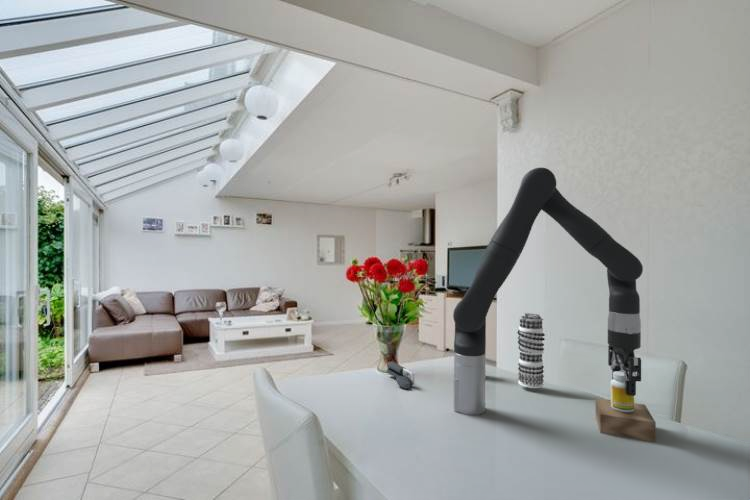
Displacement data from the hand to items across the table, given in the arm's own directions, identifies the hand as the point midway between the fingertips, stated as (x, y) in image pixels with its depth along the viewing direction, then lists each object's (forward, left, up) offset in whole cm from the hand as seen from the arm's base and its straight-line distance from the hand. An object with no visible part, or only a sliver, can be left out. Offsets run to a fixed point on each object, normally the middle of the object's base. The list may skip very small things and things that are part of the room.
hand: (623, 389), depth 106 cm
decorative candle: (-17, +33, -11) cm, 39 cm away
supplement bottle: (0, 0, -5) cm, 5 cm away
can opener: (-64, +30, -11) cm, 72 cm away
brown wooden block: (0, 0, -11) cm, 11 cm away
